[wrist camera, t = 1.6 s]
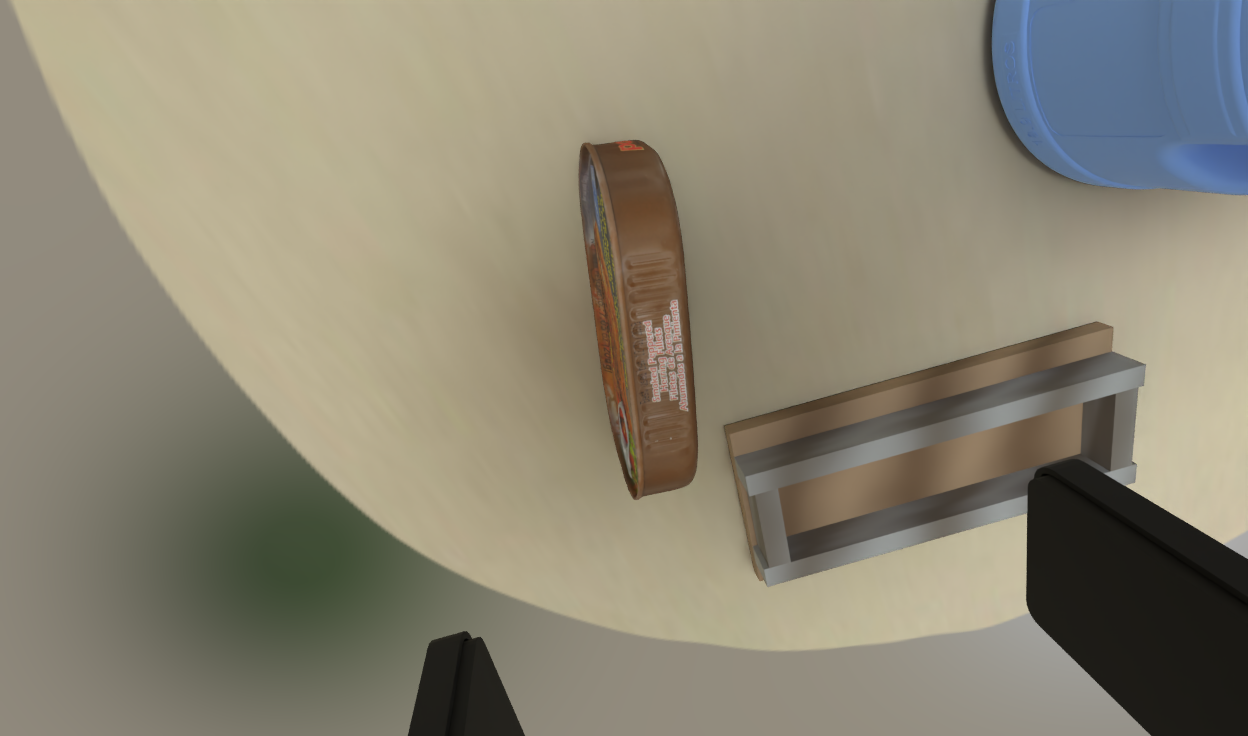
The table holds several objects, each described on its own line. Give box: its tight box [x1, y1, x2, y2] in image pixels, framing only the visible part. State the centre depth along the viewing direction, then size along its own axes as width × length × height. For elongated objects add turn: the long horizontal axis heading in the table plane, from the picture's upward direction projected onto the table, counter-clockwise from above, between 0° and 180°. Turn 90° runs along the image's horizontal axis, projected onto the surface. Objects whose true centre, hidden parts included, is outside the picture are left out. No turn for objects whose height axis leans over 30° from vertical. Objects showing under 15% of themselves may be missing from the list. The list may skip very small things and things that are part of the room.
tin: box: [579, 140, 698, 500], centre depth 26 cm, size 15×3×8 cm, turn 6°
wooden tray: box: [724, 322, 1146, 587], centre depth 33 cm, size 21×10×3 cm, turn 104°
